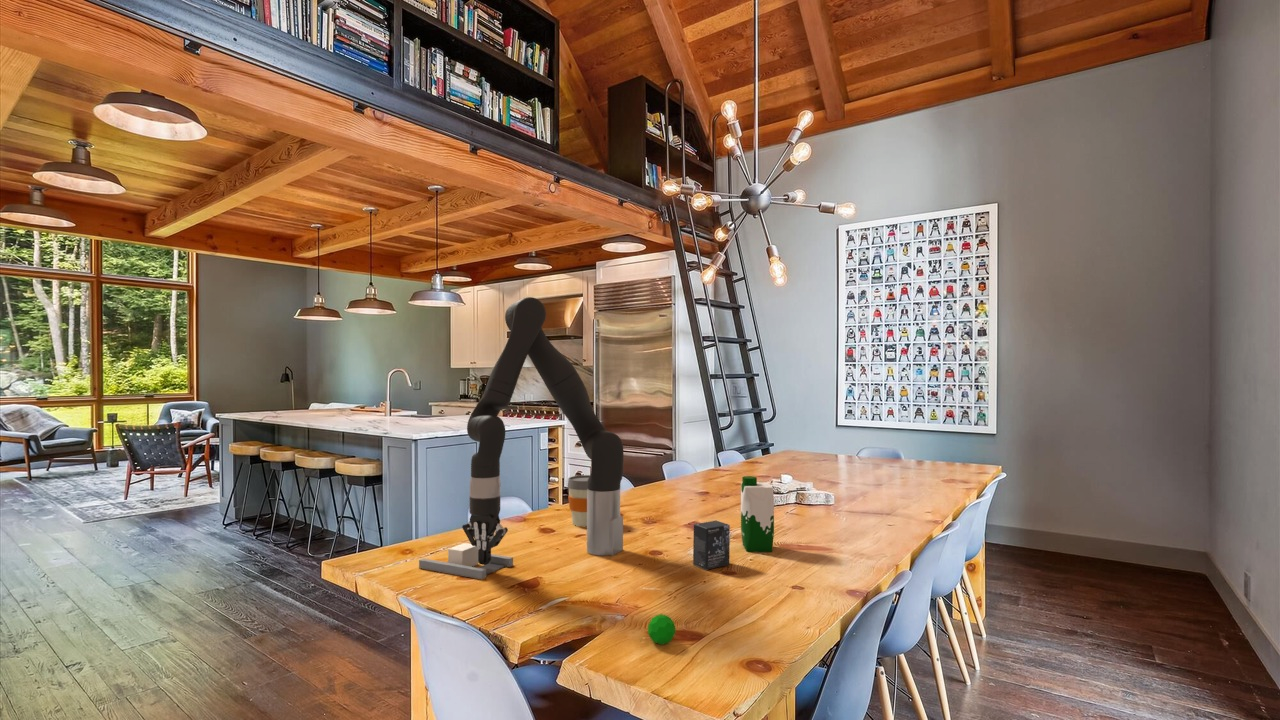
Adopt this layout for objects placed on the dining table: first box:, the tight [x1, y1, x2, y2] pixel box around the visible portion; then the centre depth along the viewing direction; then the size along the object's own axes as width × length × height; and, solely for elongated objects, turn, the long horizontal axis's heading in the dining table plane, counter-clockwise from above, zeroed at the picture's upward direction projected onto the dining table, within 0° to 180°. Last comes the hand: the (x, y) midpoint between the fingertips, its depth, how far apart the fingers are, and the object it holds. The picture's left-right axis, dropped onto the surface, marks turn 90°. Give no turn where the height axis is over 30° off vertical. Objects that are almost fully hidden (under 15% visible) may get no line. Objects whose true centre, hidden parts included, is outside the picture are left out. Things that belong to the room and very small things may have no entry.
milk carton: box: [740, 475, 775, 553], centre depth 169 cm, size 9×9×20 cm
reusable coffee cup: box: [567, 474, 591, 528], centre depth 197 cm, size 13×13×15 cm
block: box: [447, 542, 479, 567], centre depth 153 cm, size 4×6×5 cm
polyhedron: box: [647, 614, 676, 646], centre depth 109 cm, size 5×5×5 cm
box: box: [692, 520, 731, 571], centre depth 154 cm, size 8×6×11 cm
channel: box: [418, 553, 514, 580], centre depth 152 cm, size 20×12×2 cm, turn 65°
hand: (484, 563), depth 150 cm, fingers closed
